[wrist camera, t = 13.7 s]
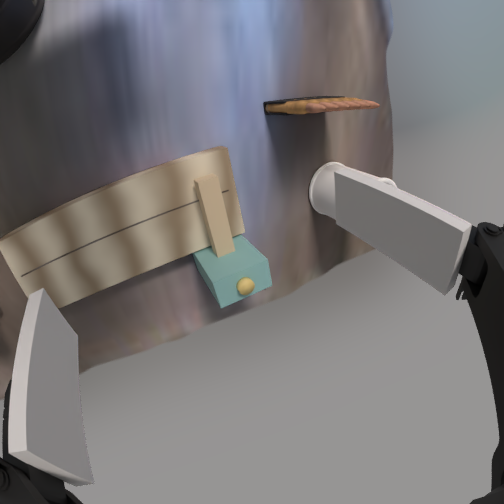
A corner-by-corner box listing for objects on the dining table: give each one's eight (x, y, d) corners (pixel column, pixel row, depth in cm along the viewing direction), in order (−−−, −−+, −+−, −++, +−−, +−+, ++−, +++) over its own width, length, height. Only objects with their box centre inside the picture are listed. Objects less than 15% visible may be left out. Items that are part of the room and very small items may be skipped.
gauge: (197, 269, 42) (223, 312, 33) (169, 179, 34) (189, 202, 26) (240, 251, 44) (275, 288, 35) (220, 163, 36) (256, 179, 28)
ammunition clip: (264, 114, 36) (320, 117, 26) (262, 102, 35) (318, 100, 25) (324, 107, 39) (384, 112, 29) (323, 96, 38) (383, 98, 28)
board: (42, 306, 32) (40, 316, 30) (3, 236, 26) (-3, 244, 24) (237, 225, 42) (245, 232, 40) (220, 145, 35) (227, 147, 33)
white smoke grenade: (298, 189, 43) (400, 240, 27) (334, 150, 43) (440, 182, 27) (328, 228, 50) (416, 283, 34) (358, 191, 50) (449, 233, 34)
